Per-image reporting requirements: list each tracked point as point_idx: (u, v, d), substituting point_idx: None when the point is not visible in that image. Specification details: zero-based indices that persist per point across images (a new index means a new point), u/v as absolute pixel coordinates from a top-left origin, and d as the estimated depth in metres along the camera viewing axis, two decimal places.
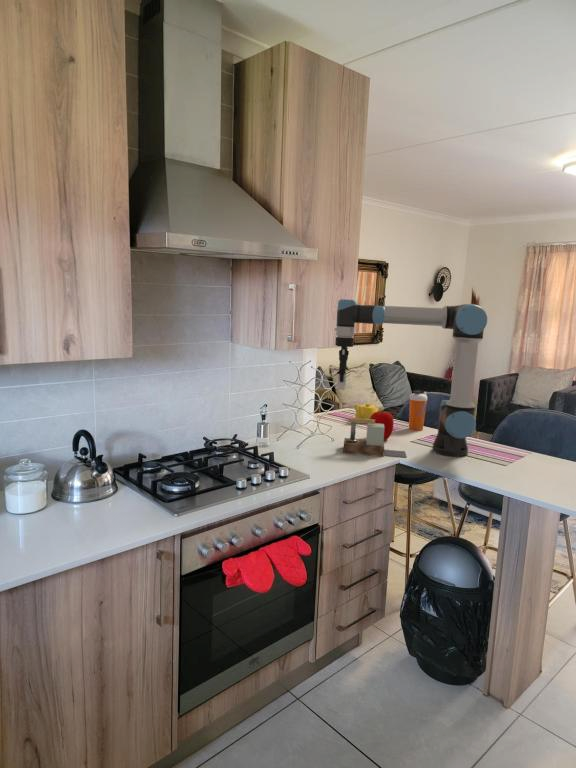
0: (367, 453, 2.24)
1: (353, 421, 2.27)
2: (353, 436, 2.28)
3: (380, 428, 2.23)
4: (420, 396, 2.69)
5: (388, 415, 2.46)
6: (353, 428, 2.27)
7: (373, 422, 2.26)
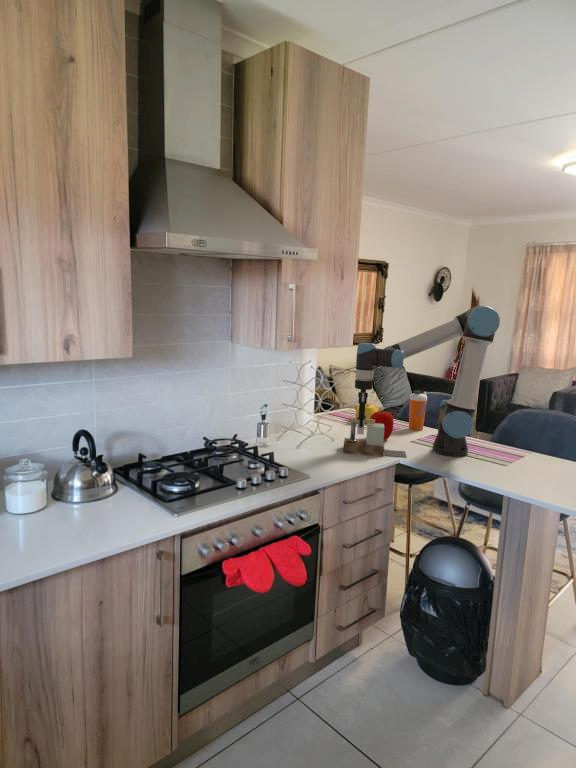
0: (367, 453, 2.24)
1: (353, 421, 2.27)
2: (353, 436, 2.28)
3: (380, 428, 2.23)
4: (420, 396, 2.69)
5: (388, 415, 2.46)
6: (353, 428, 2.27)
7: (373, 422, 2.26)
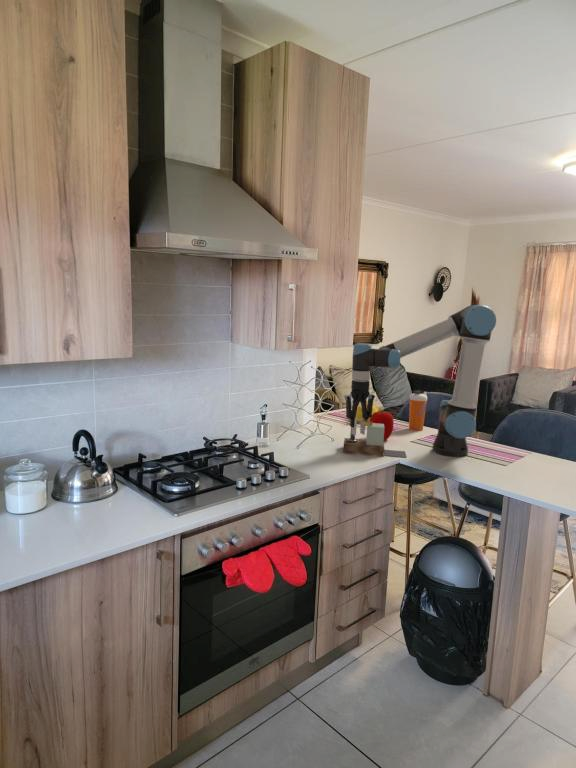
0: (367, 453, 2.24)
1: None
2: (352, 436, 2.28)
3: (380, 428, 2.23)
4: (420, 396, 2.69)
5: (388, 415, 2.46)
6: (351, 428, 2.27)
7: (368, 424, 2.21)
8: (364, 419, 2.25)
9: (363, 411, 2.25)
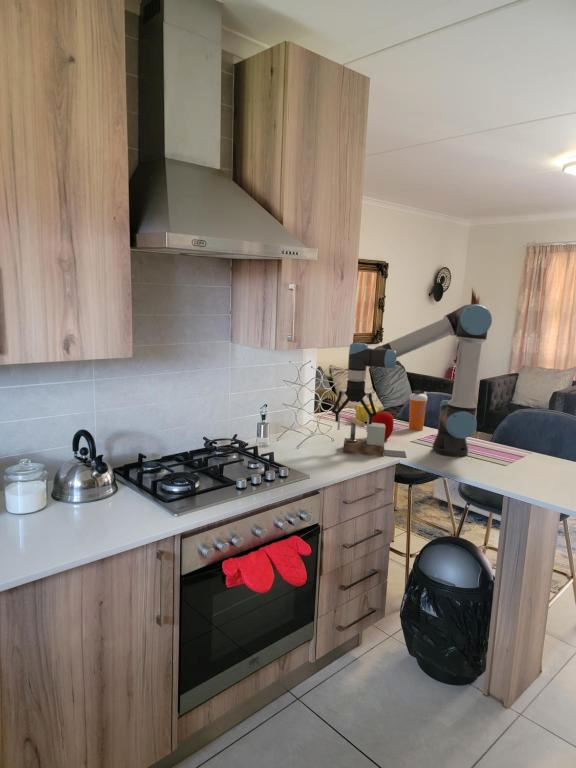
0: (367, 453, 2.24)
1: (351, 421, 2.27)
2: (351, 436, 2.28)
3: (381, 428, 2.23)
4: (420, 396, 2.69)
5: (388, 415, 2.46)
6: (351, 428, 2.28)
7: (360, 425, 2.19)
8: (368, 417, 2.22)
9: None
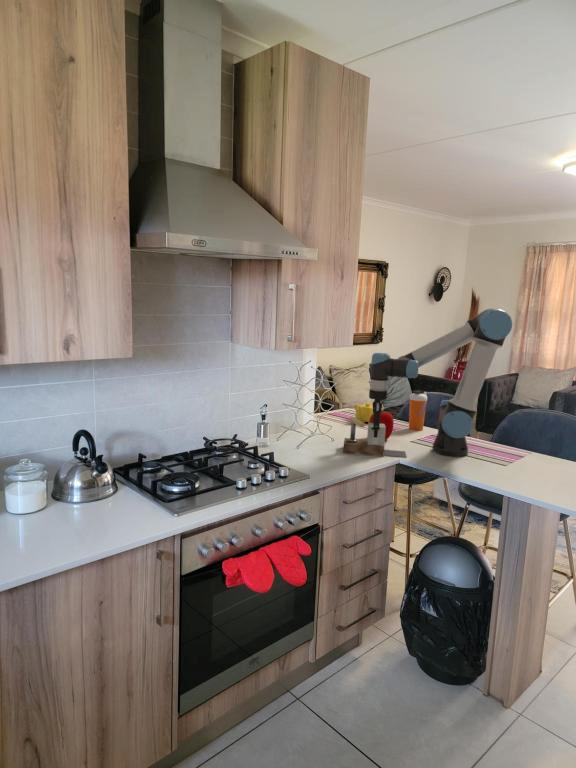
0: (367, 453, 2.24)
1: (351, 421, 2.27)
2: (351, 436, 2.28)
3: (381, 428, 2.23)
4: (420, 396, 2.69)
5: (388, 415, 2.46)
6: (351, 428, 2.28)
7: (360, 425, 2.19)
8: None
9: None
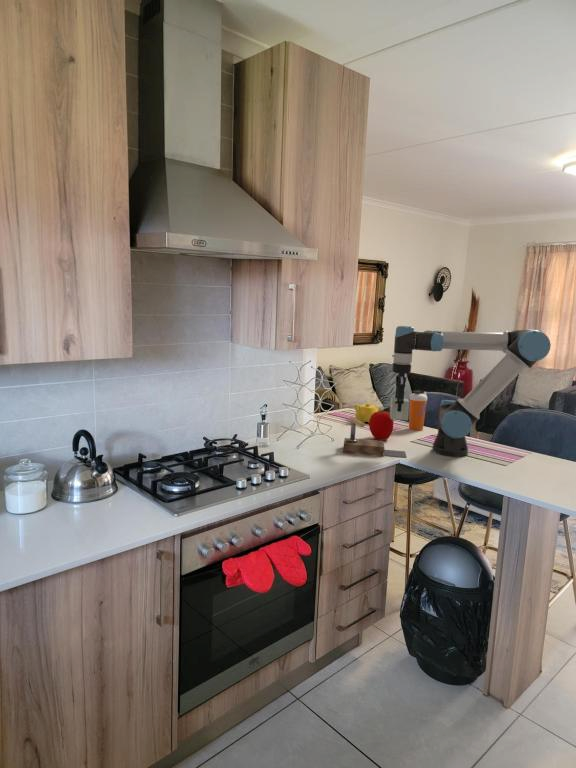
0: (367, 453, 2.24)
1: (351, 421, 2.27)
2: (351, 436, 2.28)
3: (405, 402, 2.20)
4: (420, 396, 2.69)
5: (388, 415, 2.46)
6: (351, 428, 2.28)
7: (360, 425, 2.19)
8: None
9: None
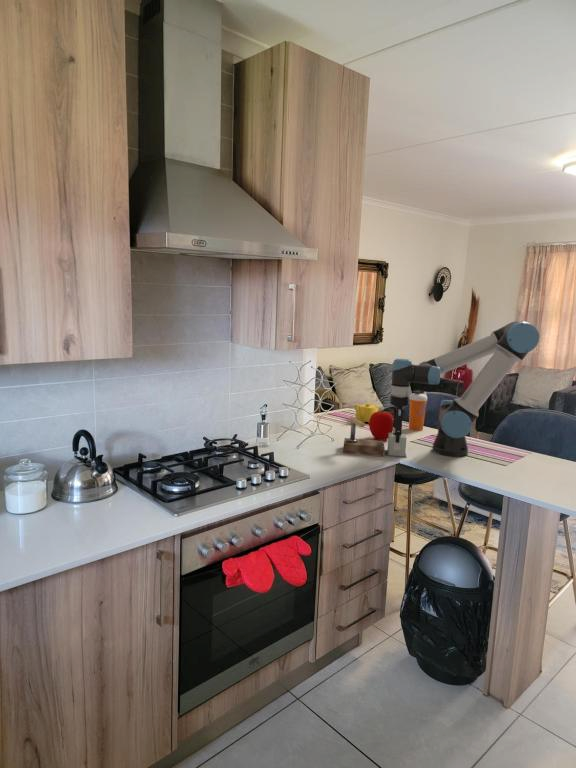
0: (367, 453, 2.24)
1: (351, 421, 2.27)
2: (351, 436, 2.28)
3: (402, 438, 2.22)
4: (420, 396, 2.69)
5: (388, 415, 2.46)
6: (351, 428, 2.28)
7: (360, 425, 2.19)
8: None
9: None
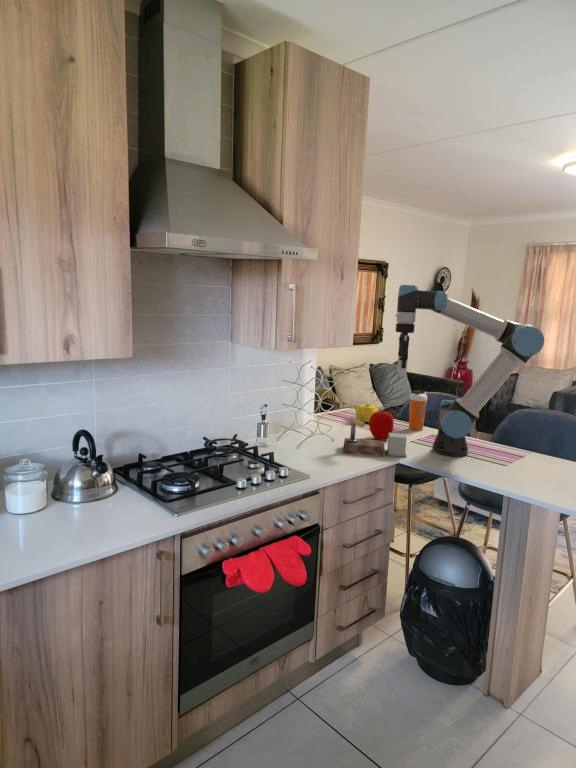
0: (367, 453, 2.24)
1: (351, 421, 2.27)
2: (351, 436, 2.28)
3: (402, 438, 2.22)
4: (420, 396, 2.69)
5: (388, 415, 2.46)
6: (351, 428, 2.28)
7: (360, 425, 2.19)
8: None
9: None
